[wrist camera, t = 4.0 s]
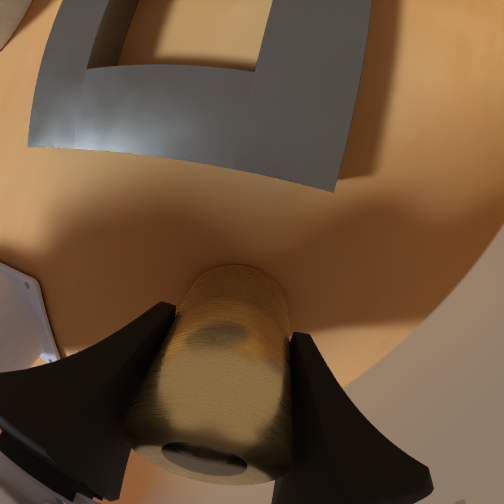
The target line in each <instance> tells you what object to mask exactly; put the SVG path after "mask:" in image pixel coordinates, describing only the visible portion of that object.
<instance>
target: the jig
mask: <svg viewBox="0 0 504 504" xmlns="http://www.w3.org/2000/svg"><path fill="white" fill-rule="evenodd" d="M137 2H138V0H63V1H62V4H61V6H60V8H59V11H58V13H57V16H56V18H55V21H54V23H53V26H52V29H51V32H50V35H49V38H48V41H47V44H46V47H45V51H44V54H43V58H42V61H41V65H40V69H39V73H38V78H37V82H36V87H35V92H34V98H33V104H32V110H31V117H30V125H29V135H28V147H46V148H72V149H88V150H102V151H113V152H123V153H133V154H141V155H150V156H157V157H165V158H172V159H179V160H185V161H191V162H198V163H204V164H209V165H215V166H220V167H226V168H231V169H236V170H241V171H246V172H251V173H256V174H260V175H265V176H269V177H274V178H278V179H282V180H287V181H291V182H295V183H299V184H303V185H307V186H311V187H315V188H318V189H322V190H326V191H330V192H333V193H334V189H335V185H336V182H337V178H338V174H339V170H340V166H341V163H342V159H343V155H344V151H345V146H346V142H347V138H348V134H349V130H350V125H351V121H352V116H353V112H354V107H355V102H356V97H357V92H358V87H359V82H360V77H361V71H362V66H363V60H364V54H365V48H366V41H367V35H368V28H369V20H370V13H371V4H372V0H273V2H272V6H271V9H270V13H269V17H268V21H267V25H266V28H265V32H264V36H263V40H262V44H261V48H260V52H259V56H258V60H257V64H256V69H255V72H250V71H244V70H237V69H229V68H220V67H209V66H196V65H173V64H146V65H123V66H117V64H118V60H119V57H120V53H121V50H122V46H123V43H124V39H125V36H126V33H127V30H128V27H129V24H130V21H131V18H132V15H133V13H134V10H135V7H136V5H137Z"/></svg>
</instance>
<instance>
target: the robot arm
mask: <svg viewBox="0 0 504 504" xmlns="http://www.w3.org/2000/svg"><path fill="white" fill-rule="evenodd" d="M175 311H176V305H172V304H168V303H165V302H159V303H157V304H156V305H155V306H153V307H152V308H150V309H149V310H148V311H146V312H145V313H144V314H142V315H141V316H139V317H138V318H137V319H135V320H134V321H132V322H131V323H129V324H128V325H126V326H125V327H123V328H122V329H120V330H119V331H117V332H115V333H114V334H112V335H110V336H109V337H107V338H105V339H104V340H102V341H100V342H98V343H97V344H95V345H93V346H91V347H89V348H87V349H85V350H82V351H80V352H78V353H76V354H73V355H70V356H68V357H65V358H62V359H61V358H60V355H59V353H58V350H57V347H56V344H55V341H54V338H53V335H52V331H51V328H50V325H49V321H48V318H47V314H46V310H45V306H44V302H43V298H42V294H41V289H40V286H39V283H38V282H37V280H36V279H34V278H32V277H30V276H28V275H25V274H23V273H21V272H19V271H17V270H15V269H13V268H11V267H9V266H7V265H5V264H3V263H1V262H0V429H1V430H2V433H1V434H0V504H64V503H63V502H65V503H66V504H100V503H98V502H96V501H94V500H92V499H93V497H95V498H97V499H99V500H103V498H104V499H106V500H108V501H114V500H117V499H119V496H120V491H121V486H122V482H123V477H124V473H125V469H126V465H127V462H128V458H129V454H130V451H131V447H130V446H129V445H128V444H127V443H126V441H125V440H124V438H123V436H122V433H121V428H122V426H123V423H124V421H125V419H126V417H127V415H128V412H129V410H130V408H131V406H132V404H133V402H134V400H135V397H136V395H137V393H138V391H139V389H140V387H141V385H142V383H143V381H144V379H145V376H146V374H147V372H148V370H149V368H150V366H151V364H152V362H153V360H154V358H155V356H156V354H157V352H158V350H159V348H160V346H161V344H162V342H163V340H164V338H165V336H166V334H167V332H168V330H169V328H170V326H171V324H172V323H173V321H174V319H175ZM38 358H41V359H42V360H44V361H46V362H47V363H48V364H44V365H40V366H36V367H32V368H30V367H31V366H32V365H33V364H34V362H35V361H36V360H37V359H38ZM290 364H291V395H292V468H291V470H290V471H289V472H288V473H287V474H285V475H284V476H282V477H280V478H278V479H276V480H275V485H274V491H273V498H272V503H271V504H414V503H416V502H417V501H419V500H422V499H423V498H425V497H427V496H428V495H430V494H431V493H432V491H433V489H434V488H433V483H432V479H431V475H430V471H429V468H428V467H427V466H425V465H423V464H422V463H420V462H419V461H417V460H415V459H414V458H412V457H411V456H409V455H408V454H406V453H405V452H403V451H402V450H401V449H400V448H398V447H397V446H396V445H394V444H393V443H392V442H390V441H389V440H388V439H387V438H386V437H385V436H384V435H382V434H381V433H380V432H379V431H378V430H377V429H376V428H375V427H374V426H373V425H372V424H371V423H370V422H369V421H368V420H367V419H366V418H365V417H364V415H363V414H362V413H361V412H360V411H359V410H358V408H357V407H356V406H355V405H354V404H353V402H352V401H351V400H350V399H349V397H348V396H347V395H346V393H345V392H344V390H343V389H342V388H341V386H340V385H339V383H338V382H337V380H336V379H335V377H334V375H333V374H332V372H331V371H330V369H329V367H328V366H327V364H326V362H325V361H324V359H323V357H322V355H321V354H320V352H319V350H318V348H317V346H316V345H315V343H314V341H313V339H312V338H311V336H310V334H305V333H299V332H294V333H293V335H292V338H291V341H290ZM62 501H63V502H62ZM454 504H466V503H465V500H464V499H462V500H460V501H458V502H456V503H454Z"/></svg>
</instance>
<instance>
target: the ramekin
mask: <svg viewBox="0 0 504 504" xmlns="http://www.w3.org/2000/svg"><path fill="white" fill-rule="evenodd" d="M32 1H33V0H0V50H1V49H2V48H3V47H4V45H5V44H6V43H7V42H8V40H9V39H10V37H11V36H12V35H13V33H14V32H15V30H16V29H17V27H18V25H19V24H20V22H21V21H22V19H23V17H24V15H25V14H26V12H27V10H28V8H29V6H30V5H31V3H32Z"/></svg>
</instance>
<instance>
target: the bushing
mask: <svg viewBox="0 0 504 504" xmlns="http://www.w3.org/2000/svg"><path fill="white" fill-rule="evenodd" d="M121 433H122V436H123V438H124V440H125V441H126V443H127V444H128V445H129V446H130V447H131V448H132V449H133V450H134V451H135V452H136V453H138V454H139V455H140V456H142V457H143V458H144V459H146V460H148V461H149V462H151V463H153V464H154V465H157V466H158V467H160V468H162V469H165V470H167V471H169V472H172V473H174V474H177V475H180V476H183V477H186V478H190V479H194V480H198V481H202V482H207V483H214V484H222V485H253V484H260V483H265V482H269V481H273V480H276V479H278V478H280V477H282V476H284V475H285V474H287V473H288V472H289V471H290V470H291V468H292V395H291V364H290V340H289V320H288V304H287V300H286V297H285V295H284V292H283V291H282V289H281V288H280V286H279V285H278V284H277V283H276V282H275V281H274V280H273V279H272V278H271V277H269V276H268V275H267V274H265V273H263V272H261V271H260V270H257V269H255V268H252V267H248V266H243V265H223V266H218V267H215V268H212V269H210V270H208V271H206V272H205V273H203V274H202V275H200V276H199V277H198V278H197V279H196V280H195V282H194V283H193V285H192V286H191V288H190V290H189V292H188V294H187V296H186V298H185V300H184V301H183V303H182V305H181V307H180V309H179V311H178V313H177V315H176V317H175V319H174V321H173V323H172V324H171V326H170V328H169V330H168V332H167V334H166V336H165V338H164V340H163V342H162V344H161V346H160V348H159V350H158V352H157V354H156V356H155V358H154V360H153V362H152V364H151V366H150V368H149V370H148V372H147V374H146V376H145V379H144V381H143V383H142V385H141V387H140V389H139V391H138V393H137V395H136V397H135V400H134V402H133V404H132V406H131V408H130V410H129V412H128V415H127V417H126V419H125V421H124V423H123V426H122V428H121Z"/></svg>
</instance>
